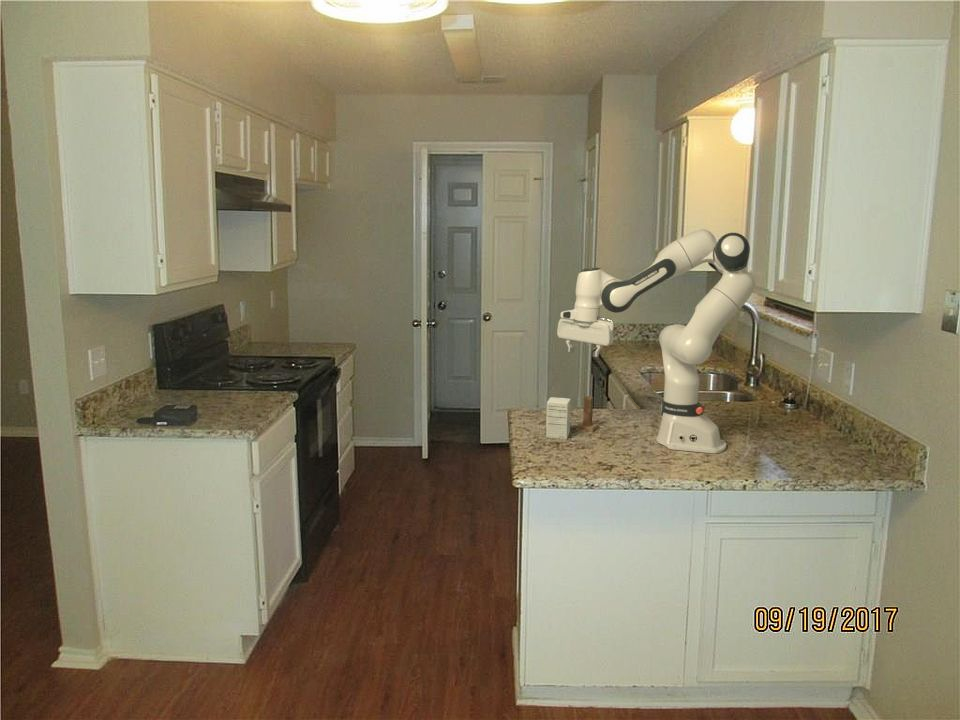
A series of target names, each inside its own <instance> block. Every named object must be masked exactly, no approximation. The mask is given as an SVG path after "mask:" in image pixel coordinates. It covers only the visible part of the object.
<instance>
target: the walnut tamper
mask: <svg viewBox="0 0 960 720" xmlns="http://www.w3.org/2000/svg"><path fill="white" fill-rule="evenodd" d="M593 408H594V397H593V396H588V395H587V396H584V398H583V415H582V416H583V417H582V418H583V419H582V421H581V422H579V423H578V424H577V425H576V429H579V430H578V431H582V430H586V431H585V432H588V431H592V432H591V433H593V432H594V430H595V429H596V430H598V428H599V423H595V422H593V411H594V409H593ZM596 430H595V431H596Z"/></svg>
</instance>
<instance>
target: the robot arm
mask: <svg viewBox="0 0 960 720" xmlns="http://www.w3.org/2000/svg"><path fill="white" fill-rule="evenodd" d="M750 252H751V247H750V243H749V241H748V239H747V238H746V237H745V236H744V235H742V234H741V233H739V232H728V233H726V234H724V235H722V236H721V237H720V238H719V239H717V238H716V237H715V235H714V234H713V233H712V232H711V231H710V230H708V229H706V228H705V229H699V230H695V231H692V232H690V233H688V234H686V235H684V236H681V237H680V238H677V239H675V240H674V241H672V242H670V243H669V244H667V245H666V246H665V247H664V248H662V249H660V251H659V252H658V254H657V255H656V257H655V260H654V261H653V263H651V265H650V266H649V267H647V268H645V269H643V270H642V271H640V272H639V273H637V274H635V275H634V276H632V277H630V278H629V279H626V280H621V279H619V278H616V277H614V276H612V275H610V274H608V273H607V272H605V271H604V270H603V269H602V268H600V267H587V268H583V269H581V270H580V271H579V272H578V274H577V278H576V285H575V303H574V306H573V307H574V308H571V309H567V310H563V311H561V312H560V319H559V320H558V323H557V330H556V335H557V337H558V338H559V339H564V340H565V343H566V344H567V348H568V349H567V350H568V353H572V354H573V353H574V352H575V349H576V347H574V346H573V344H572V343H573V341H576V342H580V343H587V344H594V345H596V346H595V347H596V349H595V350H594V351H592V357H594V358H598V357H599V355H600V351H601V350H602V349H603V348H604V347H603V346H605V347H609V346H612V344H613V343H614V329H615V323H614V321H613V320H612V319H611V318H609V317H603V316H602V317H601V315H600V314H601V306H602V305H603V307H604V308H605V309H606V310H607V311H609V312H611V313H615V314H617V313H623V312H625V311H627V310H628V309H629V308H630V307H631V306H632V305H633V302H634V301H635V300H637V298H639V297H640V296H641V295H643V294H645V293H646V292H648V291H650V290H651V289H653V288H654V287H656V286H657V285H659V284H662V283H663V282H665V281H668V280H671V279H673V278H675V277H677V276H681V275H683V274H685V273H687V272H690V271H691V270H693V269H694V268H696V267H698V266H700V265H702V264H705V263H708V266H709V267H711V268H712V269H713V270H714V271H715V272H717V273H718V274H719V275H720V276H721V277H720V279H719V280H718V282H717V283H716V284H715V285H714V286H713V287H712V288H710V291H708V292H707V294H706V295H705V296H704V297H703V298H702V299H701V300H700V301H699V302H698V303H697V304H696V306H695V308H694V313H693V314H692V316H691V318H690V320H689V322H688V323H687V324H686V325H684V324H680V323H677V324H676V323H675V324H670V325H667V326H666V327H664V328H662V330H661V332H660V334H659V337H658V342H659V345H660V348H661V355H662V363H663V370H664V387H663V389H664V390H663V399H662V401H661V408H660V409H661V410H660V414H661V415H660V416H661V421H660V427H659V430H658V432H657V433H658V434H657V437H656V438H655V439H656V442H657V443H659V444H660V445H662V446H665V447H666V448H668V450H675V451H676V450H677V451H685V452H696V453H704V454H705V453H706V454H719V453H722V452H724V451H725V450H726V449H727V442H726V441H725V440H724V439H721V435H720V430H719V427H718V425H717V424H715V423H714V422H713V421H712V420H711V419H710V418H708V417H707V416H706V415H705V414H704V413H705V412H704V411H705V404H704V403H703V404H702V403H701V402H699V393H700V392H699V389H700V377H699V373H698V371H697V365H701V364H703V363H705V362H706V361H708V359H709V358H710V357H711V356H712V355H711V354H712V352H713V345H714V343H715V341H716V340H717V338H718V336H719V334H720V333H721V331H722V330H723V329H724V327H726V325H727V324H728V323H729V322H730V321H731V320H732V318H734V317H735V315H736V314H737V313H738V312H739V311H740V310H741V309H742V307H744V305H745V304H746V302H747V301H748V300H749V299H750V297H751V296H752V294H753V292H754V290H755V288H756V287H757V286H756V280H755V278H754V277H753V275H752V274H751V273H750V272H748V270H747V269H746V268H747V266H748V262H749V259H750Z"/></svg>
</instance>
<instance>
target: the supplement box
mask: <svg viewBox="0 0 960 720" xmlns="http://www.w3.org/2000/svg"><path fill="white" fill-rule="evenodd" d="M571 402H572V400H571V398H566V397H555V396H554V397H552V396H551V397H549V399H548V400H547V401H546V418H545V419H546V420H545V422H546V423H545V426H546V427H545V438H550V439H556V438H560V439H559V440H567V439H568V437H569V436H570V432H571V405H572V403H571Z"/></svg>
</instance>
